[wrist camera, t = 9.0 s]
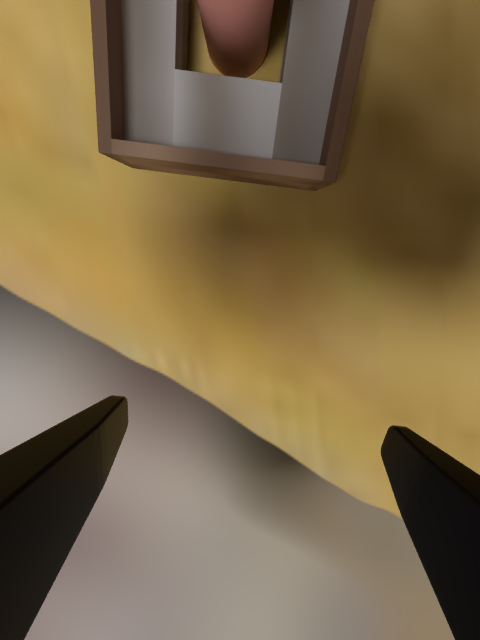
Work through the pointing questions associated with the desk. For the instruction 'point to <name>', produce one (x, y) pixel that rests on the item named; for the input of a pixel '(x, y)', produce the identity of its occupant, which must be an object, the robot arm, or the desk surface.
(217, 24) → the peg
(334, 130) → the square frame
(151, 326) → the desk surface
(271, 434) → the desk surface
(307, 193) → the desk surface
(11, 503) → the robot arm
